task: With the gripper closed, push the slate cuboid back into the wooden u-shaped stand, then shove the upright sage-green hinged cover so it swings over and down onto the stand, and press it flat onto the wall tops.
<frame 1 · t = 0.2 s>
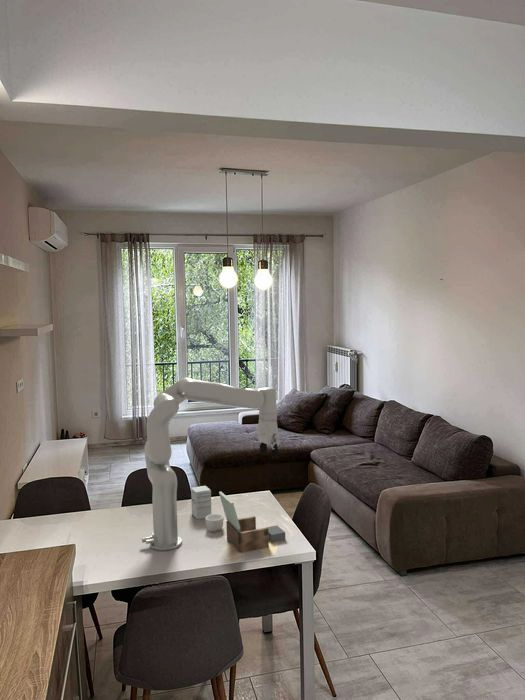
hand: (269, 455, 235), 31 cm above the table, fingers open, 9 cm apart
slate cuboid: (274, 538, 225), on the table
supplement box: (201, 516, 251), on the table
teacup: (215, 528, 236), on the table
cover: (229, 511, 216), point 14 cm above the table, hinge at 104.0°
wooden u-shaped stand: (247, 542, 220), on the table
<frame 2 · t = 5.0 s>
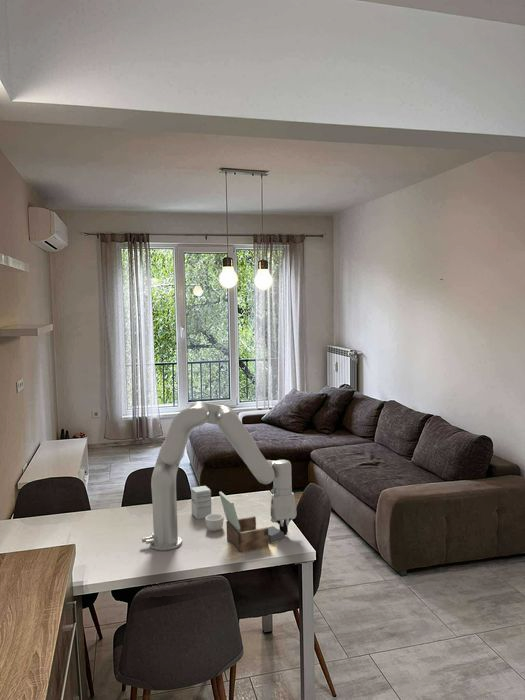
hand: (283, 534, 226), 1 cm above the table, fingers closed
slate cuboid: (272, 539, 225), on the table, touching gripper
everything else where it was.
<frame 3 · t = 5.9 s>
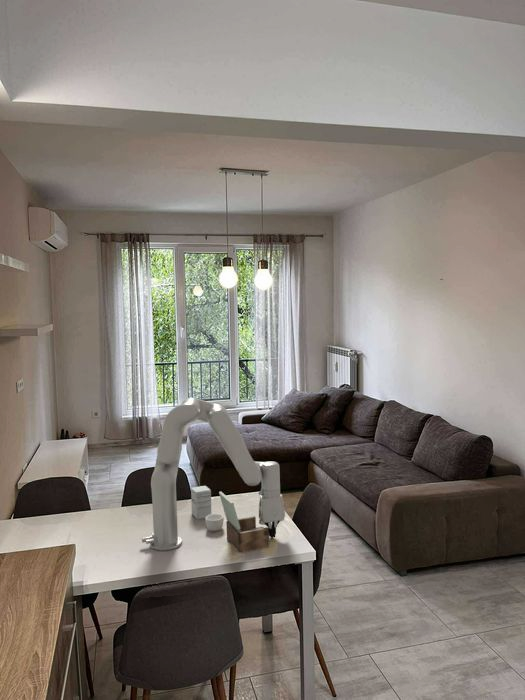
hand: (272, 536, 224), 1 cm above the table, fingers closed
slate cuboid: (259, 539, 224), on the table, touching gripper
everything else where it was.
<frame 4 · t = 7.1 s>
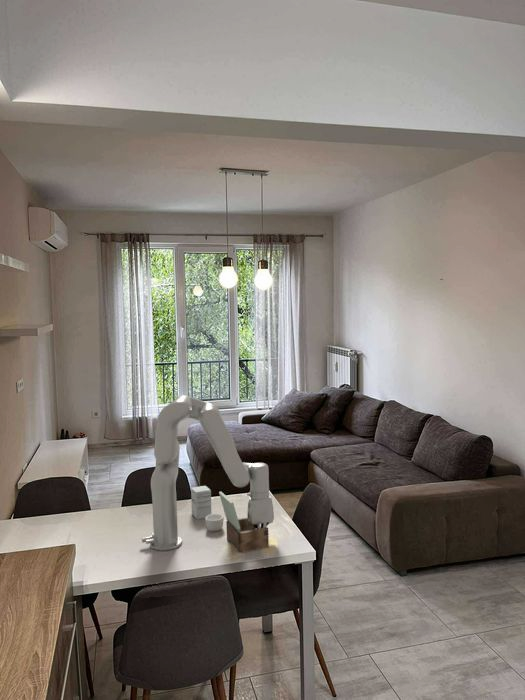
hand: (260, 538, 222), 1 cm above the table, fingers closed
slate cuboid: (248, 542, 222), on the table
everything else where it was.
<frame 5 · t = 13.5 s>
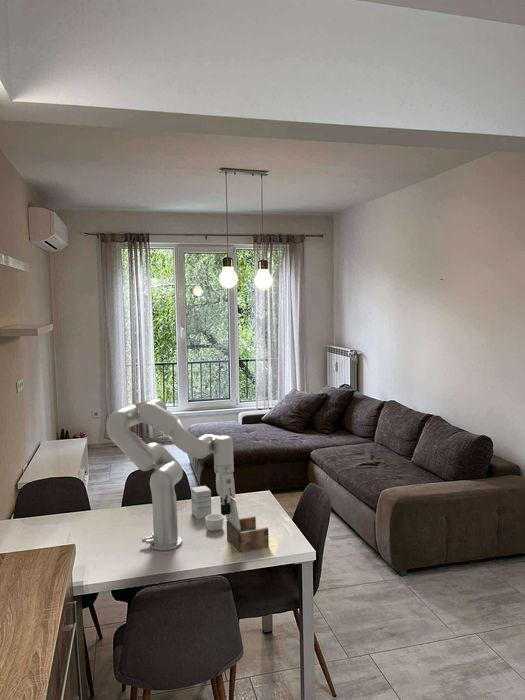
hand: (225, 513, 215), 14 cm above the table, fingers closed
cover: (231, 511, 217), point 14 cm above the table, hinge at 99.2°, touching gripper
everything else where it was.
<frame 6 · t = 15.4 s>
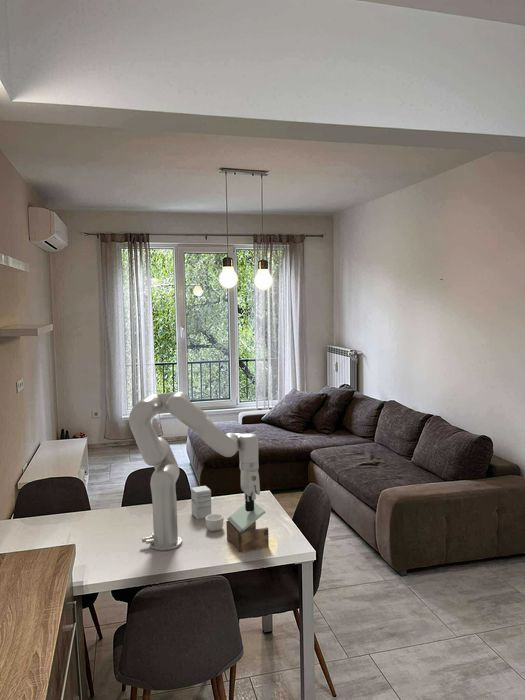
hand: (249, 510, 219), 13 cm above the table, fingers closed
cover: (245, 515, 219), point 11 cm above the table, hinge at 30.9°, touching gripper
everything else where it was.
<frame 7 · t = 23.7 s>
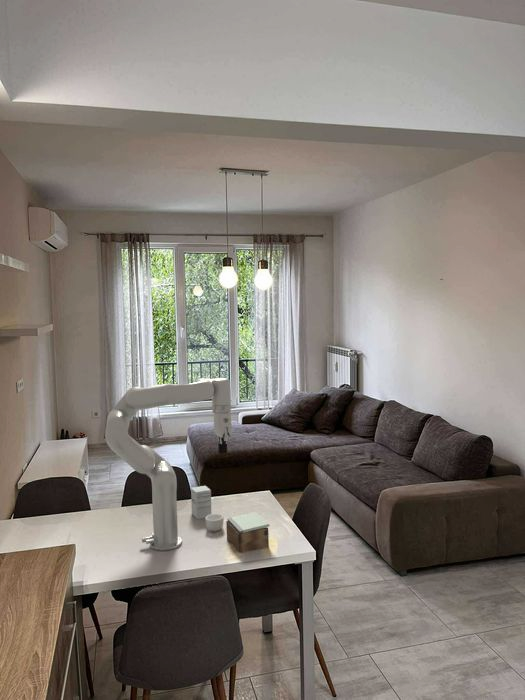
hand: (222, 452, 225), 35 cm above the table, fingers closed
cover: (248, 522, 220), point 8 cm above the table, hinge at 2.7°
everything else where it was.
at the end: slate cuboid inside the target area (1.5 cm from its centre), on the table; cover at +3° (first picture: +104°) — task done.
